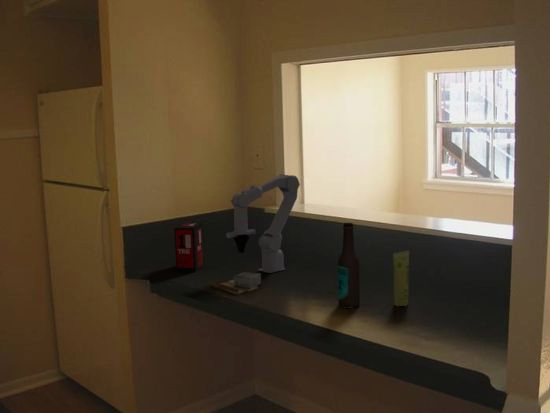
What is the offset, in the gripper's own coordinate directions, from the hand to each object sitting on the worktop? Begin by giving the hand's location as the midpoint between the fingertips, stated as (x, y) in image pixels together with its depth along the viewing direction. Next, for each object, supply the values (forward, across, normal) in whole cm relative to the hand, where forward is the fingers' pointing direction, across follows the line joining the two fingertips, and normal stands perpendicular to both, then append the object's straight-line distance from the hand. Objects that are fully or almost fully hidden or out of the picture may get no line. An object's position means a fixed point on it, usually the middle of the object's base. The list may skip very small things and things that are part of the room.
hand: (241, 252), depth 266 cm
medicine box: (+8, +6, +15) cm, 17 cm away
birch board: (+11, +14, +13) cm, 22 cm away
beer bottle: (+10, 0, +62) cm, 63 cm away
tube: (+10, -13, +75) cm, 77 cm away
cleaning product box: (+11, +6, -30) cm, 32 cm away
